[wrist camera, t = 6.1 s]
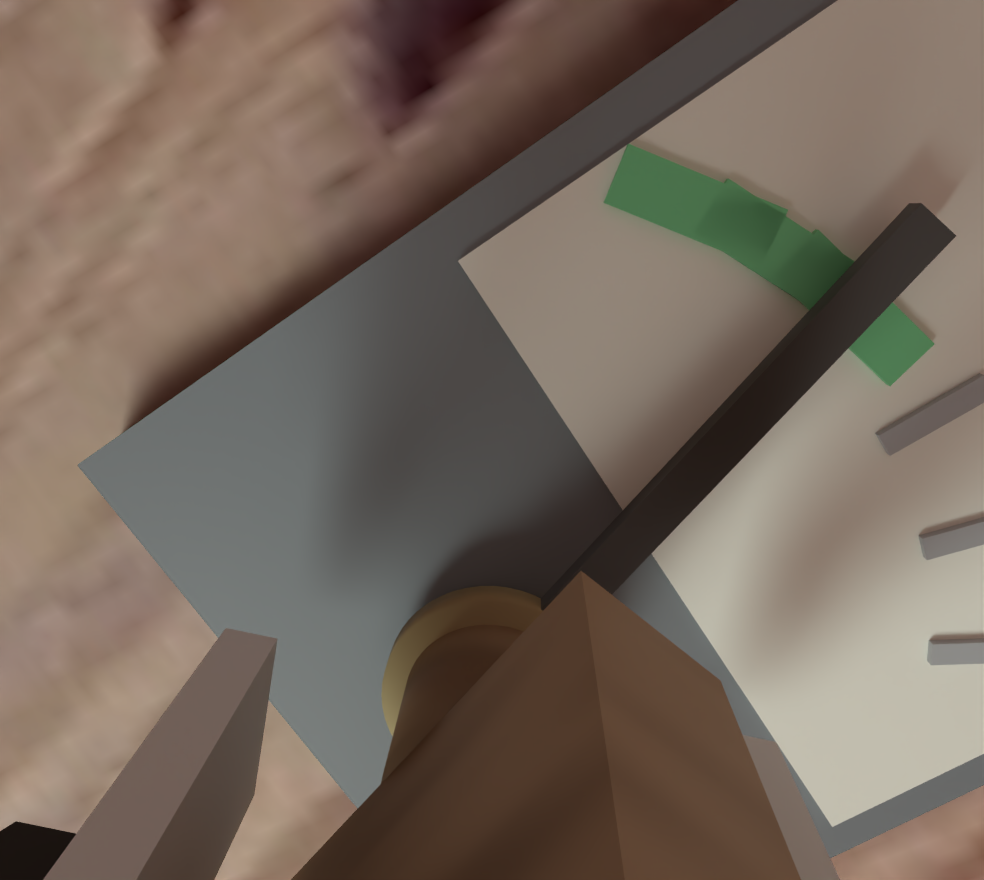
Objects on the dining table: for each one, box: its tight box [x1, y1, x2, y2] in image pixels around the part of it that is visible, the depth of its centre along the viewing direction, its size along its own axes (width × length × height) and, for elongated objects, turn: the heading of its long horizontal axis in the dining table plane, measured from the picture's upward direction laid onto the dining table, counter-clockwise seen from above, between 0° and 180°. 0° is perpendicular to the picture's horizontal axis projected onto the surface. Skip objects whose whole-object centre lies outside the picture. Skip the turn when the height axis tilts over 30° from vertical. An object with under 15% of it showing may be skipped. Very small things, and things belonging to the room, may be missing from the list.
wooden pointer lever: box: [291, 203, 956, 880], centre depth 9 cm, size 14×4×10 cm, turn 141°
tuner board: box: [78, 0, 984, 858], centre depth 15 cm, size 14×19×2 cm
